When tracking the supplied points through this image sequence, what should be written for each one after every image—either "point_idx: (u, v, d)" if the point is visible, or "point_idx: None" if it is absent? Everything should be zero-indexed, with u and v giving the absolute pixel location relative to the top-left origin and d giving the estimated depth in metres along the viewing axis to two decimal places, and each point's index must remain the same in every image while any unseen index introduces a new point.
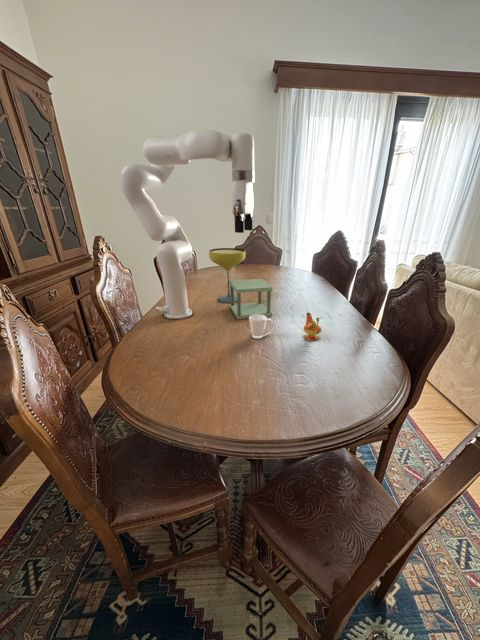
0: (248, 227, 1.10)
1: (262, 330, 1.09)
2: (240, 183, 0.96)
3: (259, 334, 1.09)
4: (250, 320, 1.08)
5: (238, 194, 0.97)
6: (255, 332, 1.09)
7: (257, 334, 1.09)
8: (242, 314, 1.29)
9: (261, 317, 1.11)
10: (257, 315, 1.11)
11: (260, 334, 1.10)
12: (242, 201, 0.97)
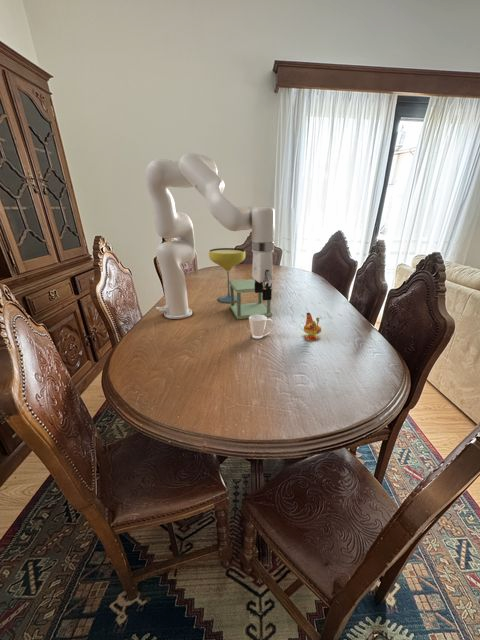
0: (259, 290, 1.08)
1: (262, 330, 1.09)
2: (268, 254, 0.94)
3: (259, 334, 1.09)
4: (250, 320, 1.08)
5: (267, 265, 0.95)
6: (255, 332, 1.09)
7: (257, 334, 1.09)
8: (242, 314, 1.29)
9: (261, 317, 1.11)
10: (257, 315, 1.11)
11: (260, 334, 1.10)
12: (271, 271, 0.97)
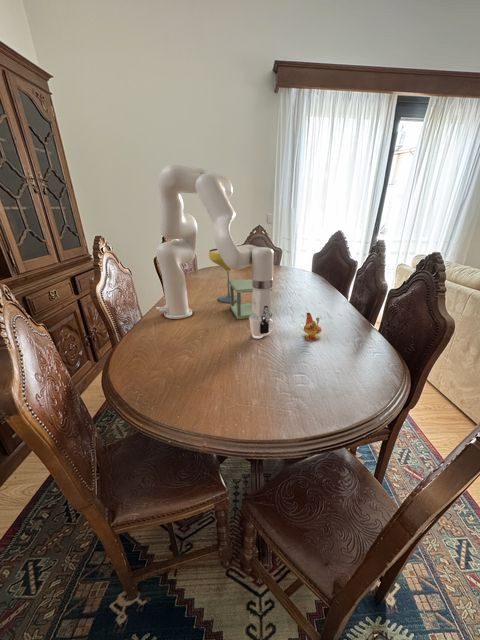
0: None
1: None
2: (267, 292, 1.00)
3: (259, 334, 1.09)
4: (250, 320, 1.07)
5: (266, 301, 1.01)
6: (255, 332, 1.09)
7: (257, 334, 1.09)
8: (242, 314, 1.29)
9: None
10: None
11: (260, 334, 1.10)
12: (269, 307, 1.02)
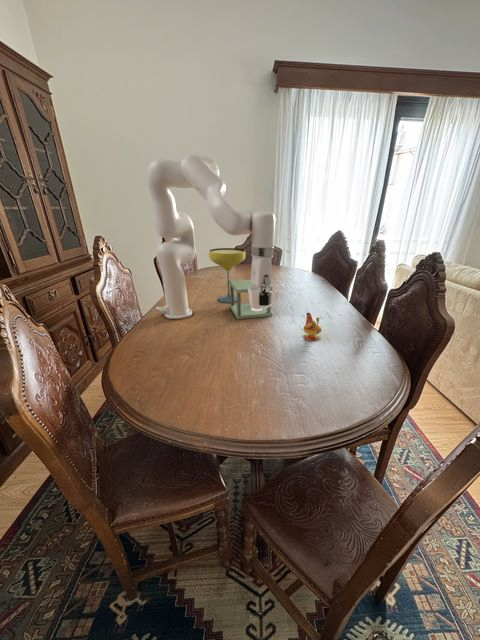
0: None
1: None
2: (267, 260, 0.95)
3: (258, 307, 1.05)
4: (249, 291, 1.03)
5: (266, 270, 0.96)
6: (254, 304, 1.04)
7: (256, 306, 1.04)
8: (242, 314, 1.29)
9: None
10: (257, 287, 1.06)
11: (259, 307, 1.05)
12: (269, 276, 0.98)
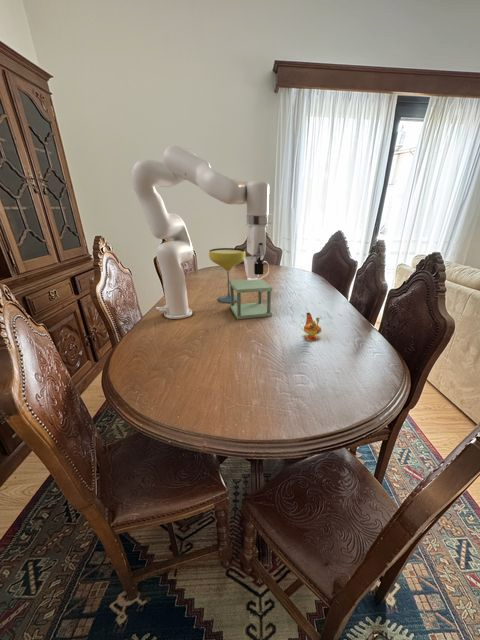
0: None
1: None
2: (262, 228, 0.99)
3: (254, 276, 1.08)
4: (245, 260, 1.06)
5: (260, 238, 1.00)
6: (250, 273, 1.07)
7: (252, 276, 1.08)
8: (242, 314, 1.29)
9: None
10: (252, 257, 1.10)
11: (255, 276, 1.08)
12: (264, 244, 1.01)
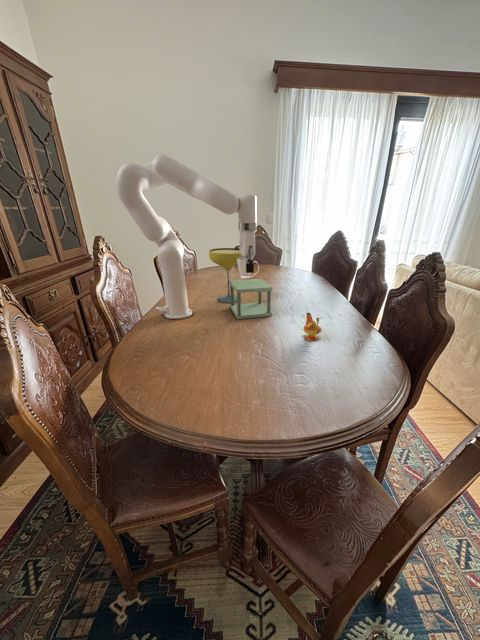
0: None
1: None
2: (251, 233, 1.17)
3: (246, 274, 1.26)
4: (237, 260, 1.24)
5: (250, 241, 1.18)
6: (242, 272, 1.25)
7: (244, 274, 1.26)
8: (242, 314, 1.29)
9: None
10: (244, 258, 1.28)
11: (247, 274, 1.26)
12: (253, 247, 1.19)
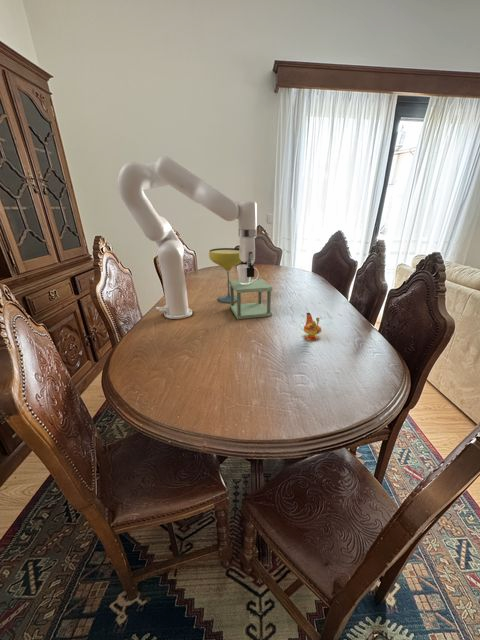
0: None
1: (248, 277, 1.27)
2: (251, 239, 1.18)
3: (246, 281, 1.27)
4: (237, 268, 1.26)
5: (250, 248, 1.19)
6: (242, 279, 1.27)
7: (244, 281, 1.27)
8: (242, 314, 1.29)
9: (247, 267, 1.29)
10: (244, 265, 1.29)
11: (246, 281, 1.28)
12: (253, 253, 1.20)
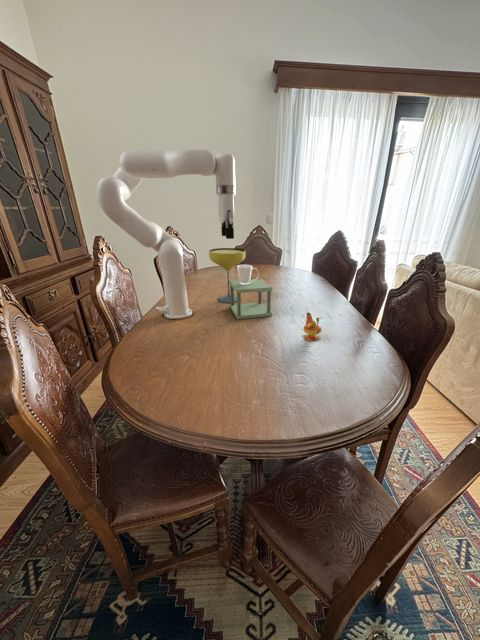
0: (225, 233, 1.25)
1: (248, 277, 1.27)
2: (229, 196, 1.11)
3: (246, 281, 1.27)
4: (237, 268, 1.26)
5: (228, 205, 1.12)
6: (242, 279, 1.27)
7: (244, 281, 1.27)
8: (242, 314, 1.29)
9: (247, 267, 1.29)
10: (244, 265, 1.29)
11: (246, 281, 1.28)
12: (232, 211, 1.13)
